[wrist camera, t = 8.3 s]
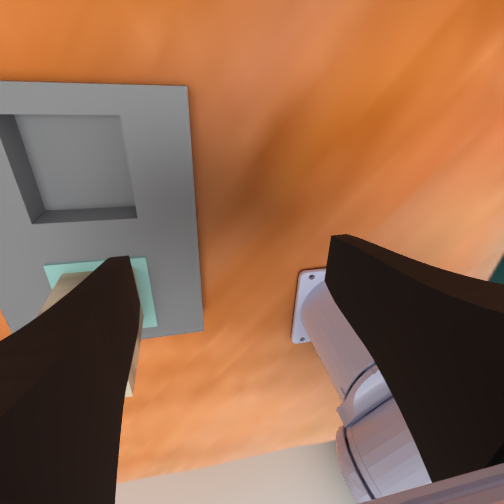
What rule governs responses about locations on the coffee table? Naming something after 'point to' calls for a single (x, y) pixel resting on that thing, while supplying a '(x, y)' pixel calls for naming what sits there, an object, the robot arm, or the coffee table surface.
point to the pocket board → (98, 195)
